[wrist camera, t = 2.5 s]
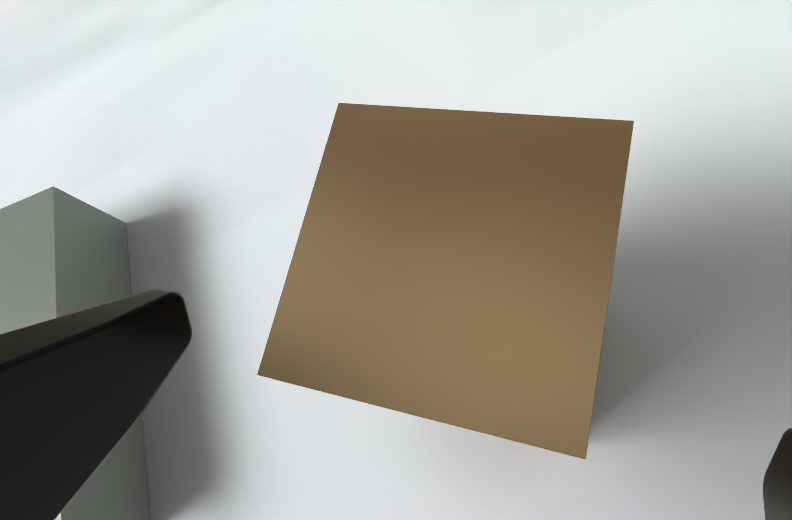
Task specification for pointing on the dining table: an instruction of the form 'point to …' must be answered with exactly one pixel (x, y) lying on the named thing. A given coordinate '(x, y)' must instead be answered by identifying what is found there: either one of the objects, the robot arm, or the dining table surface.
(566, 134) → the bronze block
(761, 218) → the dining table surface
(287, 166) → the dining table surface
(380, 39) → the dining table surface
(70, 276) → the gray box
